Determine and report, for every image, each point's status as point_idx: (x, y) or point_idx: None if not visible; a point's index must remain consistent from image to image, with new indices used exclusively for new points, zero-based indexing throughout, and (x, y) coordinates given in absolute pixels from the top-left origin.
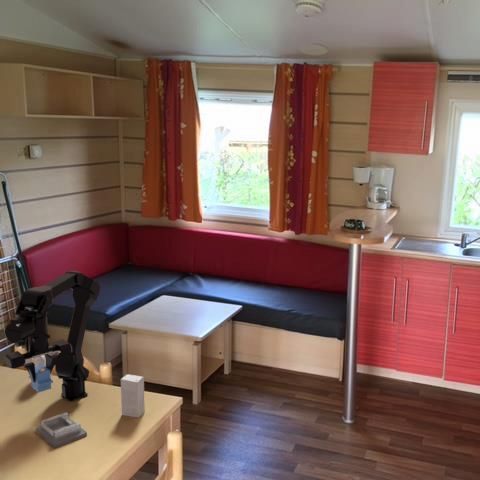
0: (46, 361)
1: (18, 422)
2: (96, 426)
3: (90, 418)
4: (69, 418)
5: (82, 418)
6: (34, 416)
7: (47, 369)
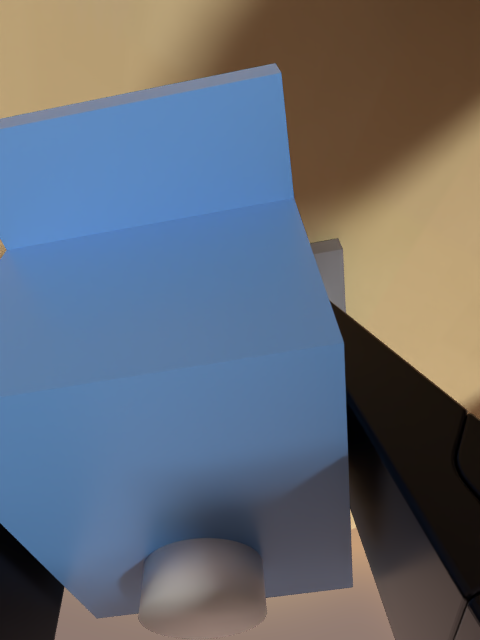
0: (449, 623)
1: (13, 103)
2: (423, 362)
3: (449, 284)
4: (342, 275)
5: (415, 264)
6: (142, 66)
7: (323, 561)
